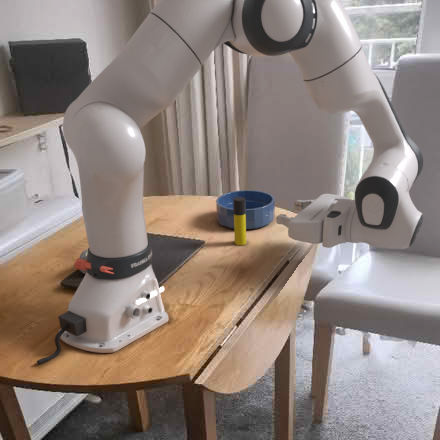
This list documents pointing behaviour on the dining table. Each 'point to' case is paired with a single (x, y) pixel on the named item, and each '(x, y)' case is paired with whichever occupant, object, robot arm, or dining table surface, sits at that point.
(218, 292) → the dining table surface
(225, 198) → the bowl
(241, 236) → the highlighter
